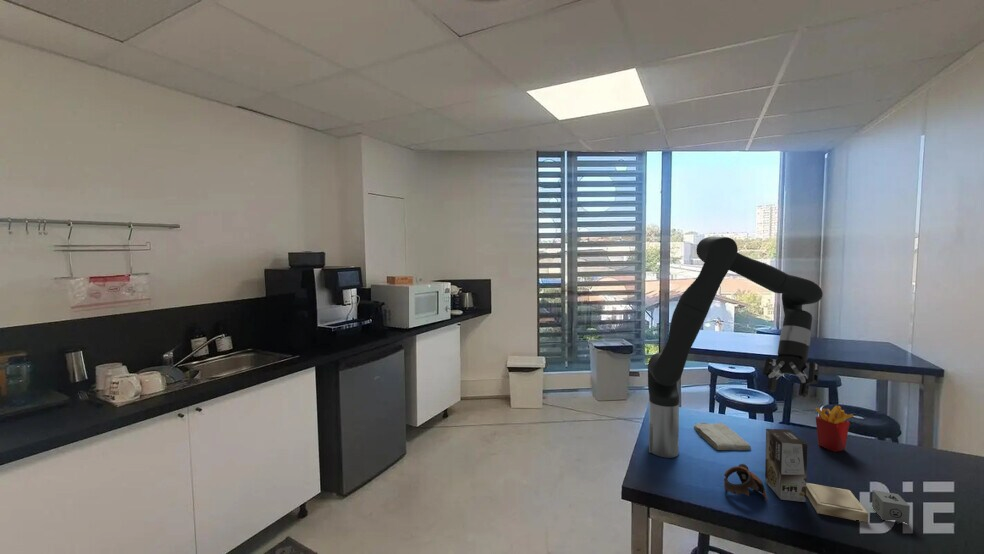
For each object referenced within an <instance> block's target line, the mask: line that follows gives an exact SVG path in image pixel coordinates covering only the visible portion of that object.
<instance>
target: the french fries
mask: <svg viewBox="0 0 984 554" xmlns="http://www.w3.org/2000/svg"><path fill="white" fill-rule="evenodd" d="M815 411H816V412H818V414H819V415H820V416H816V417H815V425H816V432H817V433H816V434H817V443H818V446H819V447H821V446H822V447H821V448H823V447H824V448H823V449H825V448H827V449H826V450H828V451H830V450H831V451H830V452H832V451H833V452H832V453H837V451H838V452H842V451H845V449H846V444H847V438H848V435H849V429H850V424H851V423H850V421H847V419H850V418H852V417H854V414H853V413H850V414H847V413H845V410H844V409H842V407H841V406H840V405H834V407H832V409H831V410H830V409H829V408H822V409H820V408H819V407H815ZM826 412H827V414H826Z"/></svg>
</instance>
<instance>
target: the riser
mask: <svg viewBox="0 0 984 554" xmlns="http://www.w3.org/2000/svg"><path fill="white" fill-rule="evenodd" d="M806 498H808V500H809V502H810V503H811V505H812V506H813V508H814V509H815V511H816V514H819V515H820V514H821V515H826V516H831V517H836V518H839V519H840V518H841V519H847V520H850V521H856V520H859V521H858V522H861V521H865V522H864V523H866V522H868V523H869V512H868V511H867V510H866V509H865V507H864V506H863V505H862V503H860V501H859V500H858V499H857V497H855V494H853V492H852V491H851V490H850V489H845V488H838V487H832V486H828V485H827V486H826V485H821V484H815V483H810V482H806Z"/></svg>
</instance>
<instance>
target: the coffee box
mask: <svg viewBox="0 0 984 554" xmlns="http://www.w3.org/2000/svg"><path fill="white" fill-rule="evenodd" d="M764 468H765V470H764V472H765V473H764V474H765V475H764V479H765V480H764V483H766V484H767V485H768V487H770V489H771V490H772V491H773V493H775V495H776V496H777V497H778V498H779V499H780V500H784V501H792V502H799V503H800V502H801V503H802V502H803V503H805V502H806V501H807V499H806V498H807V495H806V483H807V470H808V469H807V468H808V443H807V442H805V441H804V439H802V438H801V437H799V436H798V435H797V434H796V433H794V432H793V431H791V430H790V429H785V428H783V429H782V428H781V429H780V428H774V429H773V428H766V429H765V467H764Z"/></svg>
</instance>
